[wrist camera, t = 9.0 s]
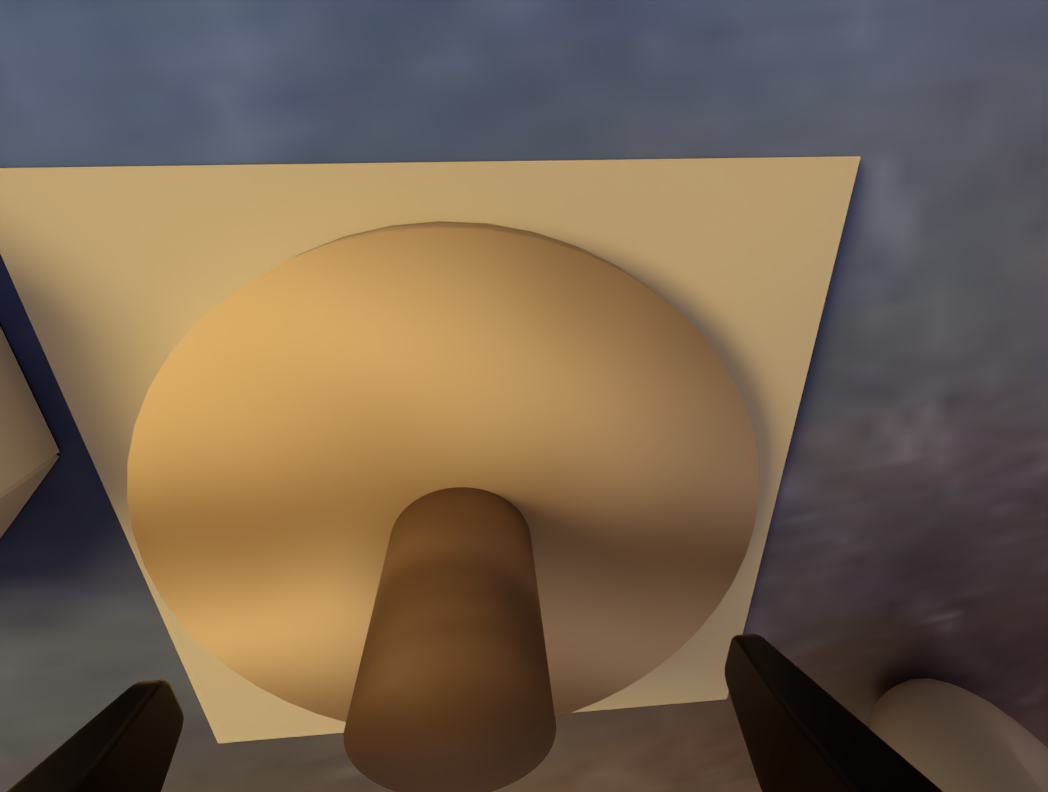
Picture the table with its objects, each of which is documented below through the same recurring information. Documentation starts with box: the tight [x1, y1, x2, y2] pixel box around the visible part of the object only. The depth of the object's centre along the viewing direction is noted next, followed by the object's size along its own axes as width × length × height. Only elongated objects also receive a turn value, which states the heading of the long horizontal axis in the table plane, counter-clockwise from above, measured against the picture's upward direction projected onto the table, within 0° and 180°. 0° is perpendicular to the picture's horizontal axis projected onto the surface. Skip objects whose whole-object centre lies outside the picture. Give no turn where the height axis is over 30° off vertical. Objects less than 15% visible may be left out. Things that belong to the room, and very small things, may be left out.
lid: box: [127, 221, 759, 792], centre depth 9 cm, size 13×13×5 cm
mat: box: [0, 156, 861, 743], centre depth 12 cm, size 15×15×1 cm
